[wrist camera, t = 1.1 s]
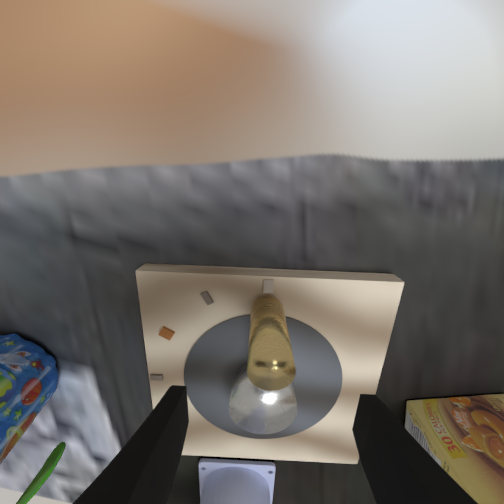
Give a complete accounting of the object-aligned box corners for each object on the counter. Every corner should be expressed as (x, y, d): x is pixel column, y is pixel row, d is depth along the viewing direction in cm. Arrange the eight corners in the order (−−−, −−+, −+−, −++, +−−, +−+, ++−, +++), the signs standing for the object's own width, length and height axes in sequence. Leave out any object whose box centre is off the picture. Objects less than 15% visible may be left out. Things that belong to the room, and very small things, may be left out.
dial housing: (351, 446, 24) (358, 466, 22) (164, 437, 24) (157, 456, 22) (392, 273, 18) (406, 283, 16) (145, 263, 18) (134, 271, 16)
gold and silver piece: (290, 408, 20) (302, 495, 14) (231, 405, 20) (221, 491, 14) (303, 296, 17) (325, 354, 11) (233, 293, 17) (220, 349, 11)
